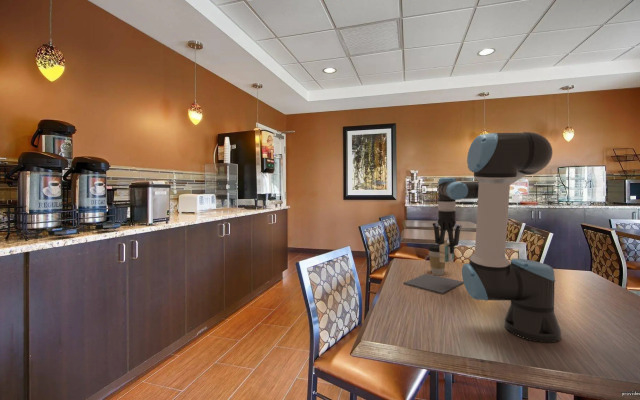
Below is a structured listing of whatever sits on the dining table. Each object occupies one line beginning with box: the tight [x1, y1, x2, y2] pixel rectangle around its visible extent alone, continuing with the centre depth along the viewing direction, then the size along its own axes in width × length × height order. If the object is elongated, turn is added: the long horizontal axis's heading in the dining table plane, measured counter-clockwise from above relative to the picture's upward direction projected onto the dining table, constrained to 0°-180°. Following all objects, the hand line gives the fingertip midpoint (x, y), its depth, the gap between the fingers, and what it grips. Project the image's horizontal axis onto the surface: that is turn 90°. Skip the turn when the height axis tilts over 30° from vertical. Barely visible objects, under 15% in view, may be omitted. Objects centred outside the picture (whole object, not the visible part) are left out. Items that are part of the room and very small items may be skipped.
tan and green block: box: [440, 241, 455, 264], centre depth 142 cm, size 9×3×8 cm, turn 130°
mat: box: [403, 273, 464, 295], centre depth 148 cm, size 22×20×1 cm
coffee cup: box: [427, 244, 446, 276], centre depth 165 cm, size 10×10×15 cm
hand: (446, 259), depth 142 cm, fingers closed on tan and green block, 3 cm apart
